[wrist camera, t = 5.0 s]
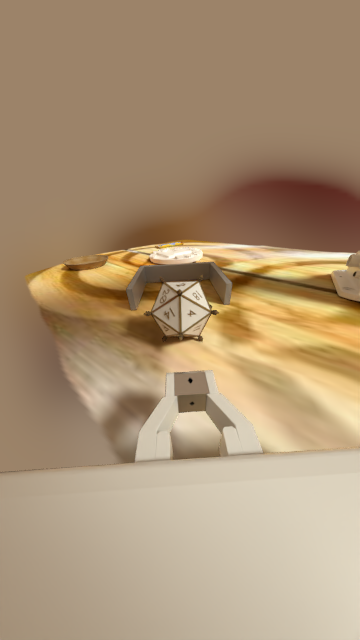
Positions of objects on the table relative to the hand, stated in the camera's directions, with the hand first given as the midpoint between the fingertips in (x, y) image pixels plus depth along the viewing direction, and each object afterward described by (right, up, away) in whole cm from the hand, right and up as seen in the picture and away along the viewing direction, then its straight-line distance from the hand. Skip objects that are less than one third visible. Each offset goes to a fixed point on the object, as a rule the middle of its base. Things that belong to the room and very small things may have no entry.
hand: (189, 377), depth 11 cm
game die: (0, +2, +12) cm, 12 cm away
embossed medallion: (-2, +27, +52) cm, 58 cm away
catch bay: (-1, +10, +25) cm, 27 cm away
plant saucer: (-34, +23, +49) cm, 64 cm away
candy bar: (-6, +43, +78) cm, 90 cm away
